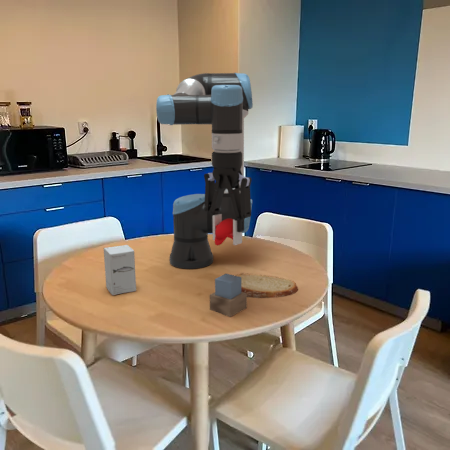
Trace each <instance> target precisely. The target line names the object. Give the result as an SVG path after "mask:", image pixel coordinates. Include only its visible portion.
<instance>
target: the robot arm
mask: <svg viewBox="0 0 450 450" xmlns="http://www.w3.org/2000/svg"><path fill="white" fill-rule="evenodd" d="M155 104H156V105H155V107H156V109H155V110H156V119H157V121H158V123H159V124H160V125H169V126H173V125H211V149H212V150H213V151H212V152H211V165H212V168H213V169H212V172H208V173H204V175H203V178H204V183H205V184H204V185H205V186H204V187H205V188H204V189H205V190H204V193H194V194H187V195H183V196H179V197H178V198H176V199H175V200H174V201H173V202H172V203H173V204H172V218H173V219H172V220H173V243H172V246H171V247H172V248H171V251H170V254H169V264H170V265H171V266H172V267H175V268H179V269H187V270H188V269H189V270H190V269H192V270H193V269H195V270H196V269H200V268H201V269H202V268H205V267H208V266H210V265H212V264H213V262H214V254H213V252H212V249H211V245H210V243H209V239H208V238H209V236H208V235H209V234H212V240H213V241H215V231H216V225H219V223H220V222H222V221H223V220H225V219H229V218H230V219H234V220H233V240H232V245H233V246H237V245H241V244H243V233H244V234H245V233H247V232H248V230H249V228H250V222H251V216H252V206H253V199H252V198H251V184H252V177H250V176H249V177H247V176H245V175H244V173H245V172H244V169H245V168H244V167H245V166H244V162H245V161H244V159H245V146H244V145H245V131H244V130H245V118H246V117H247V116H248V115H249V110H251V109H253V105H254V104H253V92H252V85H251V80H250V77H249V75H248V74H246V73H242V72H231V73H230V72H224V73H223V72H222V73H221V72H219V73H214V72H213V73H212V72H211V73H209V72H208V73H207V72H203V73H198V74H195V75H192V76H189V77H187V78H185V79H183V80H182V81H180V83H179V84H177V87H176V90H175V92H174V93H173V94H164V95H163V94H161V95H159V96H158V97H157V99H156V103H155Z"/></svg>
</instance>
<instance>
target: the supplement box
mask: <svg viewBox="0 0 450 450" xmlns="http://www.w3.org/2000/svg"><path fill="white" fill-rule="evenodd" d="M103 258H104V259H103V260H104V261H103V262H104V271H105V273H104V276H105V286H106V287H105V288H106V289H107V290H108V292H109V294H110V295H111V296H115V295H119V294H126V293H133V292H136V291H137V281H136V280H137V279H136V278H137V277H136V276H137V275H136V261H135V260H136V258H135V250H134V249H133V248H132V247H130V246H129V245H128V244H124V245H118V246H117V245H115V246H109V247H104V248H103Z"/></svg>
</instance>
